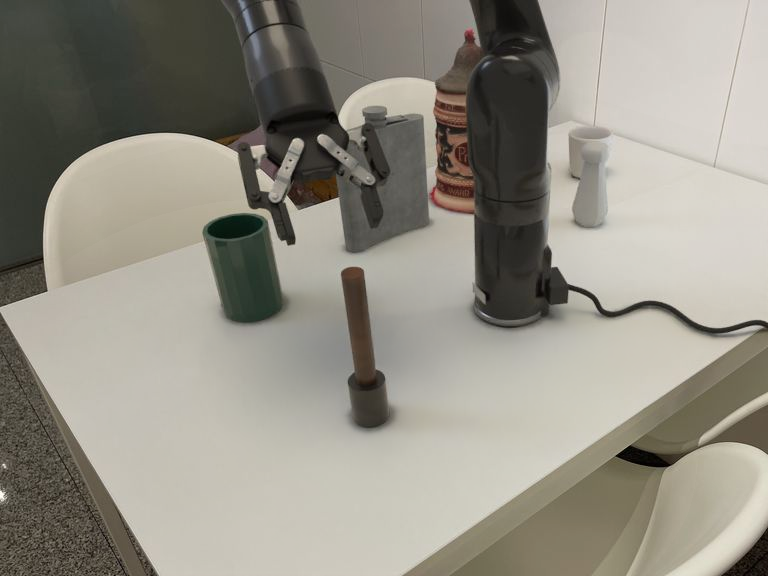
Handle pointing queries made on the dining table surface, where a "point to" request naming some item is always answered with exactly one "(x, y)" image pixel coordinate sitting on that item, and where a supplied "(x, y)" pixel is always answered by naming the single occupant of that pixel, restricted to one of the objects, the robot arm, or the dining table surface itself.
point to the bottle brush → (363, 355)
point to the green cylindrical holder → (244, 266)
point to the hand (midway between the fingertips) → (334, 233)
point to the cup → (579, 139)
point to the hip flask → (389, 181)
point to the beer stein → (454, 132)
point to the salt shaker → (592, 186)
